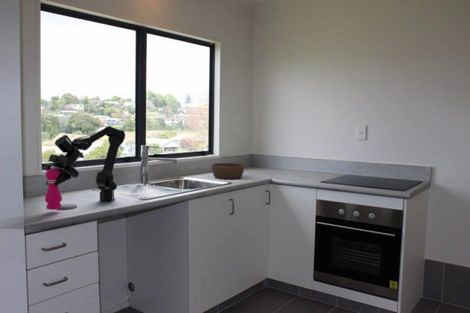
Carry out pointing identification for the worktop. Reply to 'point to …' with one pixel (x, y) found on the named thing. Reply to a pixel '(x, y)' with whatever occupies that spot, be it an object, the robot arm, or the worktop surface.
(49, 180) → the pepper mill
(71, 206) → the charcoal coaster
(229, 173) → the wooden bowl
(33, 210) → the worktop surface
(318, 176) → the worktop surface
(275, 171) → the worktop surface
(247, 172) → the worktop surface
